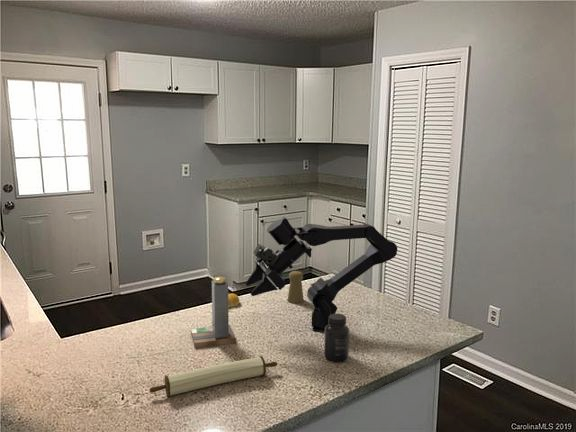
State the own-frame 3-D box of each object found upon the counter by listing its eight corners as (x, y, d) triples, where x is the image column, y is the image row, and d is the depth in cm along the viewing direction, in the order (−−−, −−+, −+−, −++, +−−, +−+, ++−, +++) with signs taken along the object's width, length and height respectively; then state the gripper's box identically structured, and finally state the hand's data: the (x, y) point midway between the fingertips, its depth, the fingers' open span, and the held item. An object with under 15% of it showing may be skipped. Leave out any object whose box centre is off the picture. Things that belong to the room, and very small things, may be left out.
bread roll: (242, 306, 168) (242, 295, 167) (218, 310, 164) (218, 299, 163) (234, 298, 175) (234, 288, 174) (211, 302, 171) (211, 291, 170)
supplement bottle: (350, 353, 133) (352, 313, 131) (345, 365, 127) (347, 323, 125) (327, 349, 135) (328, 310, 133) (321, 360, 129) (322, 319, 127)
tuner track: (229, 328, 148) (229, 324, 148) (235, 342, 139) (235, 337, 139) (190, 333, 145) (190, 328, 144) (194, 347, 135) (194, 342, 135)
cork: (303, 303, 170) (304, 274, 168) (287, 303, 170) (287, 274, 168) (303, 297, 176) (304, 269, 174) (287, 297, 176) (287, 269, 174)
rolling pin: (272, 367, 126) (272, 349, 125) (280, 377, 120) (281, 359, 120) (148, 393, 113) (147, 374, 112) (151, 405, 108) (150, 385, 107)
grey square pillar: (223, 324, 146) (223, 271, 143) (228, 336, 138) (228, 280, 135) (210, 326, 145) (209, 272, 142) (215, 338, 137) (214, 281, 134)
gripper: (265, 229, 149) (227, 262, 148) (278, 244, 131) (235, 280, 130) (286, 254, 152) (249, 286, 151) (302, 271, 135) (261, 308, 134)
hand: (248, 289), depth 142 cm, fingers open, 9 cm apart
